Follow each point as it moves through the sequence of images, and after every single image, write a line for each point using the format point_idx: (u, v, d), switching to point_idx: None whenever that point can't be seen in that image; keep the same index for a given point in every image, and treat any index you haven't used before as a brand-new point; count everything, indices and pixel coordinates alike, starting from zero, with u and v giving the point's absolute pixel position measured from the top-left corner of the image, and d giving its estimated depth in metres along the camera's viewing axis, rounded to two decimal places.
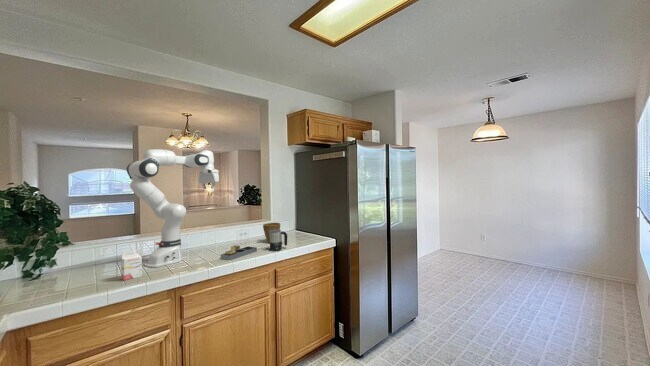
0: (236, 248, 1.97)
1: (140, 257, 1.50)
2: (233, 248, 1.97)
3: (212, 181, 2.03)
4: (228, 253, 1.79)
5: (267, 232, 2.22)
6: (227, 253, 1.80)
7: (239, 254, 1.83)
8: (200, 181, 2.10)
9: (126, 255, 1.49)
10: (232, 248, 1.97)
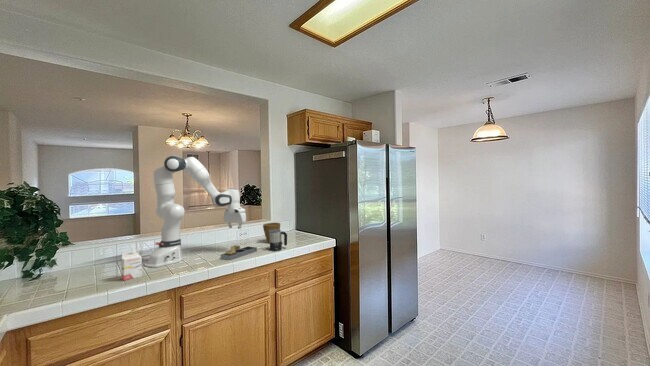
0: (236, 248, 1.97)
1: (140, 257, 1.50)
2: (233, 248, 1.97)
3: (239, 221, 1.94)
4: (228, 253, 1.79)
5: (267, 232, 2.22)
6: (227, 253, 1.80)
7: (239, 254, 1.83)
8: (226, 220, 2.01)
9: (126, 255, 1.49)
10: (232, 248, 1.97)
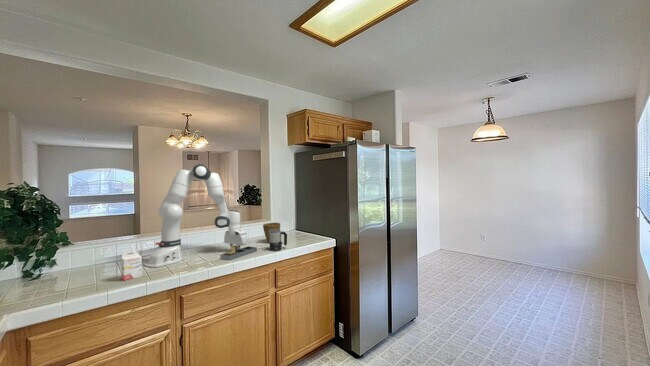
0: None
1: (140, 257, 1.50)
2: (233, 248, 1.97)
3: (240, 243, 1.94)
4: (228, 253, 1.79)
5: (267, 232, 2.22)
6: (227, 253, 1.80)
7: (239, 254, 1.83)
8: (226, 241, 2.01)
9: (126, 255, 1.49)
10: (232, 248, 1.97)
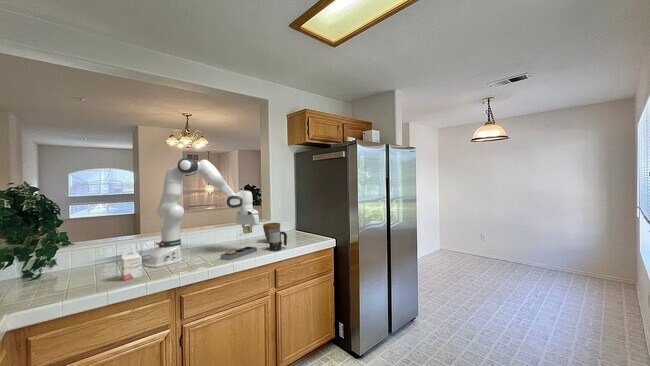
0: (248, 228, 1.94)
1: (140, 257, 1.50)
2: (245, 228, 1.93)
3: (252, 223, 1.91)
4: (228, 253, 1.79)
5: (267, 232, 2.22)
6: (227, 253, 1.80)
7: (239, 254, 1.83)
8: (238, 222, 1.98)
9: (126, 255, 1.49)
10: (244, 228, 1.94)
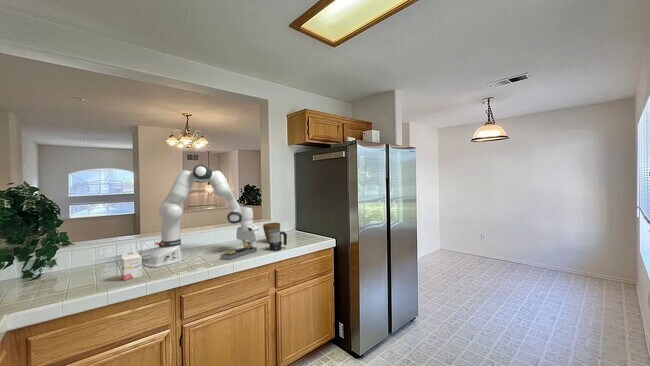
0: None
1: (140, 257, 1.50)
2: (246, 244, 1.94)
3: (253, 239, 1.91)
4: (228, 253, 1.79)
5: (267, 232, 2.22)
6: (227, 253, 1.80)
7: (239, 254, 1.83)
8: (238, 237, 1.98)
9: (126, 255, 1.49)
10: (245, 244, 1.94)
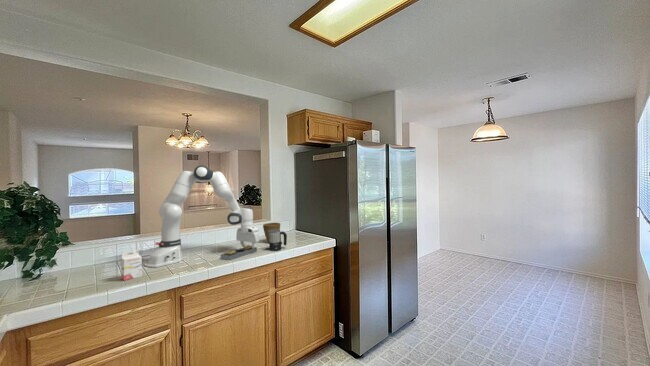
0: (249, 248, 1.94)
1: (140, 257, 1.50)
2: (246, 248, 1.93)
3: (252, 241, 1.91)
4: (228, 253, 1.79)
5: (267, 232, 2.22)
6: (227, 253, 1.80)
7: (239, 254, 1.83)
8: (238, 239, 1.97)
9: (126, 255, 1.49)
10: (245, 248, 1.94)
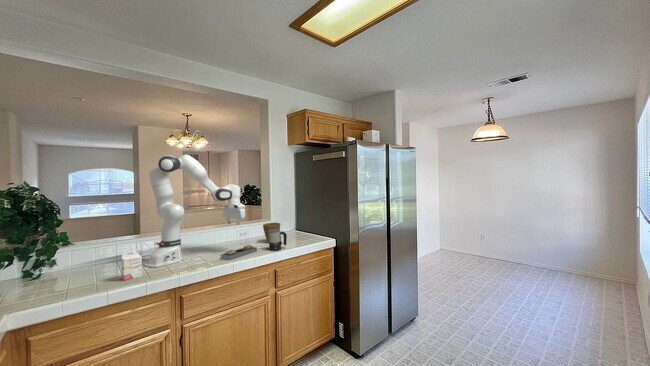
0: (249, 248, 1.94)
1: (140, 257, 1.50)
2: (246, 248, 1.93)
3: (238, 217, 1.92)
4: (228, 253, 1.79)
5: (267, 232, 2.22)
6: (227, 253, 1.80)
7: (239, 254, 1.83)
8: (225, 215, 1.99)
9: (126, 255, 1.49)
10: (245, 248, 1.94)
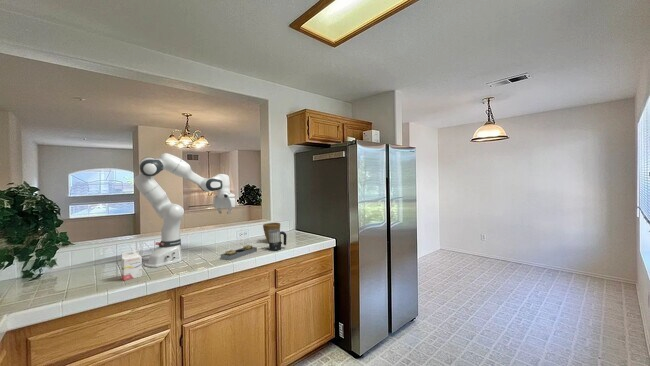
0: (249, 248, 1.94)
1: (140, 257, 1.50)
2: (246, 248, 1.93)
3: (228, 206, 1.94)
4: (228, 253, 1.79)
5: (267, 232, 2.22)
6: (227, 253, 1.80)
7: (239, 254, 1.83)
8: (215, 205, 2.00)
9: (126, 255, 1.49)
10: (245, 248, 1.94)
